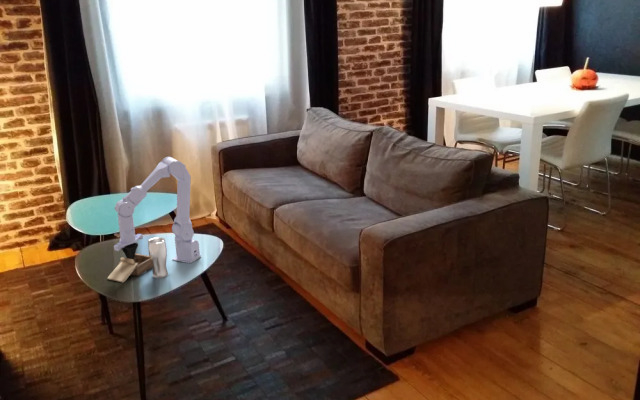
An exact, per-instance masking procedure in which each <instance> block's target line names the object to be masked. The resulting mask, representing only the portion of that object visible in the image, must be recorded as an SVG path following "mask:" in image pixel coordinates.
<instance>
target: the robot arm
mask: <svg viewBox="0 0 640 400" xmlns="http://www.w3.org/2000/svg"><path fill="white" fill-rule="evenodd" d="M171 176H172V177H174V178H175V179H176V180H177V188H176V189H177V190H176V191H177V192H176V194H177V195H176V216H175V217H174V219H173V224H172V227H171V231H172V233H173V234H174V235H175V236H174V243H175V255H176V256H175V257H173V258H172V261H174V262H175V261H176V262H183V263H187V264H188V263H189V264H191V263H193V262H195V261H197V260H198V259H199V258H202V255H201V254H200V253H201V251H200V244H199V241H198V240H195V238H193V237H194V235H195V232H194V229H193V223H192V221H191V218H190V212H191V210H190V209H191V208H190V206H191V205H190V204H191V179H192V177H191V174H190V172H189V171H188V168H187V167H186V164H184V163H183V162H182V161H180V160H177V159H175V158H174V157H172V156H166V157H164V158H163V159H162V160H161V161H160V162H159V163H158V164H157V165H156V167H155V168H154V169H153V171H152V172H150V174H149V175H148V176H147V177H146V178H145V179H144V181H143V182H142V183H141V184H140V185H135V186H134V187H133V186H132V187H131V188H130V191H129V192H128V193H127V194H126V195H125V196H122V198H121V200H120V199H119V200H118V201H117V202H116V203H115V206H114V210H115V212H116V213H117V221H118V229H119V237H120V238H119V242H117V243H116V244H115V245H113V250H114V251H116V252H119V251H120V250H121V251H122V253H124V256H125V258H129V259H133V260H134V258H135V253H136V252H137V249H138V247H139V243H137V242H138V241H139V240H143V237H144V236H143V233H137V234H136V230H135V221H134V215H133V214H134V213H135V208H136V207H137V206H138V205H140V203H141V202H143V200H144V199H145V198H146V197H147V192H148V191H149V190H150V189H151V188H152V187H153V186H154V185H155V184H156V183H157V182H159V181H160V180H161V179H162V178H170V177H171Z"/></svg>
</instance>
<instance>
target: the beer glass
mask: <svg viewBox="0 0 640 400" xmlns="http://www.w3.org/2000/svg"><path fill="white" fill-rule="evenodd" d="M147 244H148V245H147V247H148V248H147V249H148V256H150V260H151V263H152V266H153V268H152V277H153V278H154V279H163V278H166V277H168V275H169V272H168V269H167V257H168V254H167V252H168V249H167V243H166V239H165V238H164V237H157V236H156V237H153V238H150V239H148V240H147Z"/></svg>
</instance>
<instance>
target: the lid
mask: <svg viewBox="0 0 640 400" xmlns="http://www.w3.org/2000/svg"><path fill="white" fill-rule="evenodd" d="M119 260H120V261H121V262H120V261H119V262H120V263H119V262H118V263H119V265H118V264H117V266H116V267H115V268H114V269H113V271H111V273H110V274H109V275H108V277H107V280H110V281H114V282H115V281H116V282H118V283H119V282H120V283H124V282H126V281H127V279H128V278H129V276H131V275H130V274H131V273H132V272H133V271H134V269H135V268H136V266H137V265H138V263H135V261H134V260H133V259H129V258H127V257H120V259H119Z"/></svg>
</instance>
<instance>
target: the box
mask: <svg viewBox="0 0 640 400" xmlns="http://www.w3.org/2000/svg"><path fill="white" fill-rule="evenodd" d="M134 261H135V263H138V265H137V266H136V268H135V269H134V271H133V272H132V273H131V274H130V275H129V276H137V277H140V276H141V275H143V274H145V273H146V272H148V271H149V270H151V269H153V266H152V263H151V260H150V256H149V255H147V254H141V253H136V252H135V258H134ZM120 262H121V260H120V261H118V262H117V266H118V265H119V263H120Z"/></svg>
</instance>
